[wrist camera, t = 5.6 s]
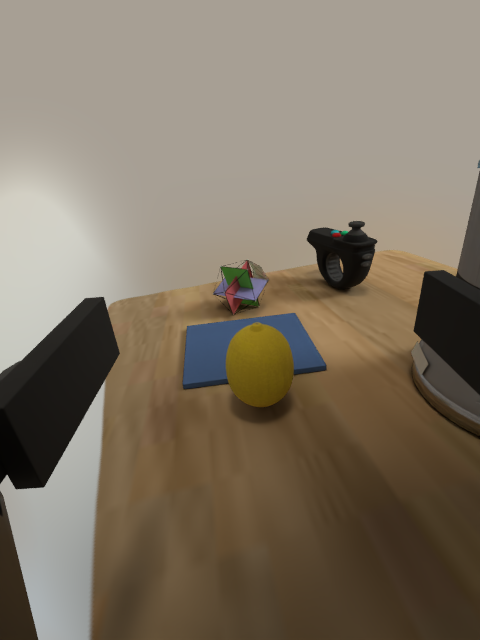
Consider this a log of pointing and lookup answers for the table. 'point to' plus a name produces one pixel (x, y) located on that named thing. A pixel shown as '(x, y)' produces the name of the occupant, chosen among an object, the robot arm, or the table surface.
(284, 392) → the lemon
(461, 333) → the robot arm
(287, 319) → the blue mat
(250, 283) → the geometric puzzle
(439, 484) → the table surface
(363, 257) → the controller
